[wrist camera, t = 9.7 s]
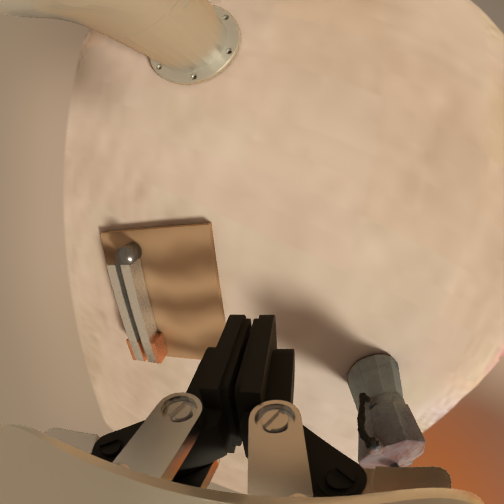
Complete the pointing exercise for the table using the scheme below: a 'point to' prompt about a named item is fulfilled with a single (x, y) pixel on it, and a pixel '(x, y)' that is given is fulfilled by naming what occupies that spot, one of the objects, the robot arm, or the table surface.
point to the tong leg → (140, 302)
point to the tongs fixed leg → (126, 311)
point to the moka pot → (383, 415)
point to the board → (178, 283)
